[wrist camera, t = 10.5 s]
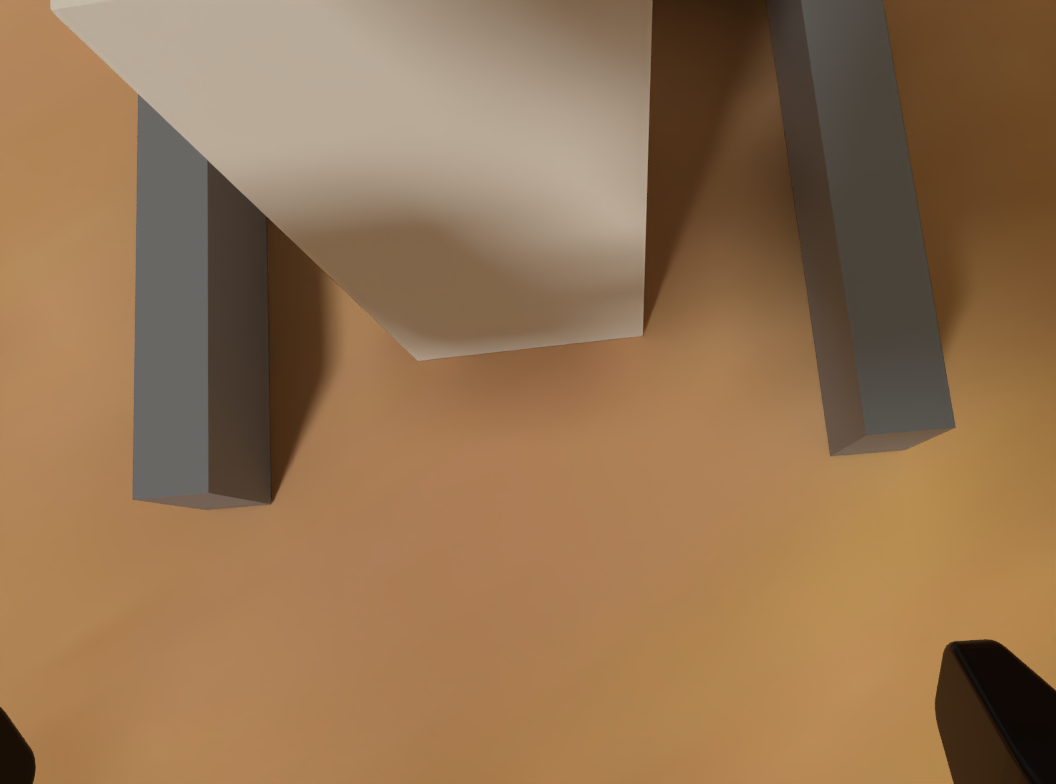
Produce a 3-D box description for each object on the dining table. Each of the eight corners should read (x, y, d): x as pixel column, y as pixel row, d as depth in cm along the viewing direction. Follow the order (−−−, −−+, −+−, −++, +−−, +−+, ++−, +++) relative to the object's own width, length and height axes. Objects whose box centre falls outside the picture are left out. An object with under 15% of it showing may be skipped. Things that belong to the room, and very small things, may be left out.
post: (642, 335, 20) (655, -84, 7) (417, 361, 20) (50, 10, 8) (619, 124, 21) (591, -574, 8) (405, 153, 21) (62, -466, 9)
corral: (905, 449, 19) (955, 427, 16) (205, 509, 20) (132, 499, 17) (820, -83, 21) (850, -188, 18) (204, 6, 23) (140, -78, 20)
